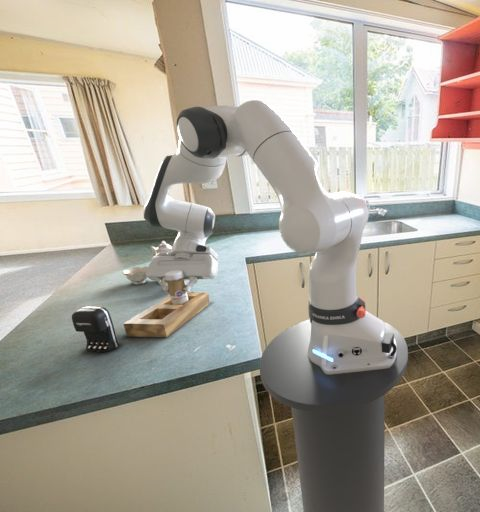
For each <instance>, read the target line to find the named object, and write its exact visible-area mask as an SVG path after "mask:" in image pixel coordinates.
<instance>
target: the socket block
mask: <svg viewBox="0 0 480 512" xmlns="http://www.w3.org/2000/svg"><path fill="white" fill-rule="evenodd" d="M187 295H188V302H186V303H185V304H184V305H173V304H172V301H171V297H170V295H168V296H166V297H165V298H163V299H161V300H160V301H158V302H157V303H155V304H153V305H152V306H150V307H148V308H147V309H145V310H143V311H141V312H140V313H138V314H137V315H134V316H133V317H131V318H130V319H128V320H127V321H125V322H124V323H123V327H124V331H125V334H126V337H142V338H168V337H169V336H171V335H172V334H173V333H175V332H176V331H177V330H178V329H180V328H181V327H182V326H184V325H185V324H186V323H187V322H189V321H190V320H191V319H192V318H194V317H195V316H196V315H198V314H199V313H201V311H203V310H204V309H205V308H206V307H208V306H209V305H210V304H211V301H210V297H209V293H208V292H187Z"/></svg>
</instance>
